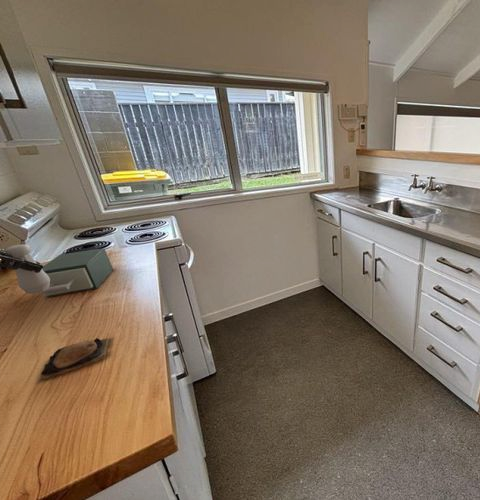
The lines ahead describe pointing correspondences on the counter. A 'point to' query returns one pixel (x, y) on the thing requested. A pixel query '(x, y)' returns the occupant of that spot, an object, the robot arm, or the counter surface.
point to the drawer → (68, 281)
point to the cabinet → (83, 265)
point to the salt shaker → (29, 272)
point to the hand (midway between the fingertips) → (39, 267)
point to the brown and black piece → (75, 357)
